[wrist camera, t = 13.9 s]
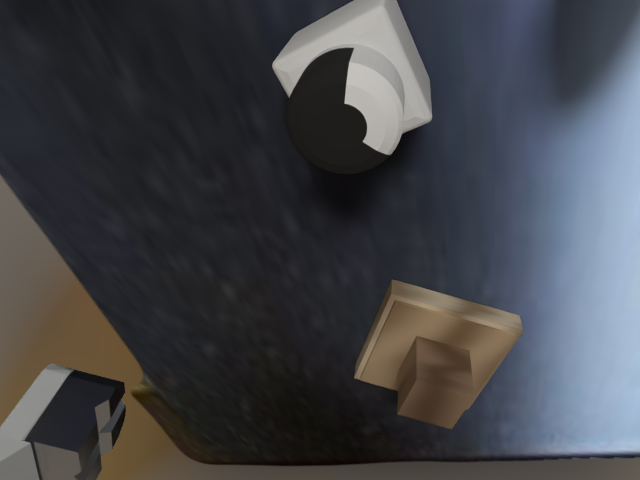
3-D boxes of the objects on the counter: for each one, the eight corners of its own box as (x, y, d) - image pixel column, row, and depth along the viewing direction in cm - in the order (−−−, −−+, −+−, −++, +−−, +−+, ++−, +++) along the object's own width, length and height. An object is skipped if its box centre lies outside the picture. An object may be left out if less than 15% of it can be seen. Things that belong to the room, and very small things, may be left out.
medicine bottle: (340, 123, 38) (314, 207, 28) (292, 33, 35) (245, 94, 25) (431, 81, 35) (437, 160, 26) (388, -20, 32) (377, 25, 22)
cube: (469, 350, 46) (474, 396, 42) (448, 383, 49) (451, 429, 45) (416, 335, 46) (416, 379, 42) (398, 369, 49) (397, 414, 45)
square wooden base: (519, 315, 46) (524, 335, 44) (466, 393, 53) (468, 414, 51) (392, 279, 46) (391, 297, 44) (356, 362, 53) (353, 381, 51)
